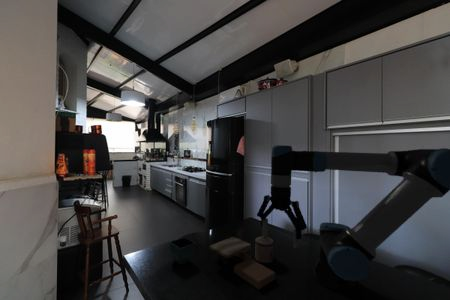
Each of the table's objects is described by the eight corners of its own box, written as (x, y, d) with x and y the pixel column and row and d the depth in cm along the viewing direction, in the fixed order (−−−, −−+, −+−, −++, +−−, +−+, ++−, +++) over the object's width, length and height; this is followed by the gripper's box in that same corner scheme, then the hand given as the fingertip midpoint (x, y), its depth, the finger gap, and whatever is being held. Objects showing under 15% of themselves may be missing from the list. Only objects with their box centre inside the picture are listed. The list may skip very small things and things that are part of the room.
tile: (274, 280, 87) (274, 272, 87) (258, 290, 80) (258, 281, 80) (249, 265, 97) (250, 258, 97) (233, 273, 91) (234, 265, 91)
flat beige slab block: (250, 261, 100) (251, 244, 100) (227, 275, 89) (227, 255, 89) (232, 252, 109) (232, 236, 109) (208, 263, 98) (209, 245, 97)
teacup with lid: (273, 265, 98) (274, 240, 98) (254, 262, 99) (254, 238, 99) (273, 252, 109) (273, 230, 109) (255, 250, 111) (256, 228, 111)
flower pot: (195, 261, 99) (195, 242, 99) (179, 268, 93) (180, 248, 93) (184, 254, 105) (184, 236, 105) (168, 261, 99) (169, 242, 99)
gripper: (317, 189, 74) (316, 249, 74) (260, 180, 92) (259, 229, 92) (308, 192, 69) (306, 256, 69) (249, 182, 87) (248, 233, 87)
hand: (279, 241), depth 81 cm, fingers open, 13 cm apart
